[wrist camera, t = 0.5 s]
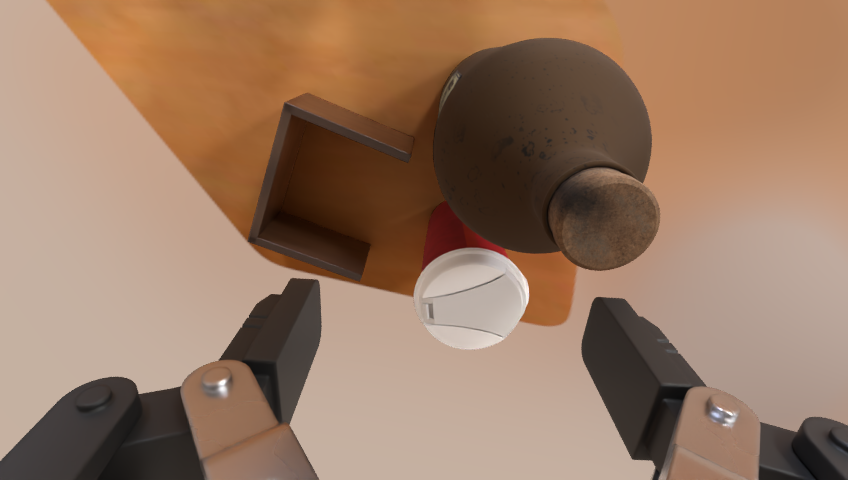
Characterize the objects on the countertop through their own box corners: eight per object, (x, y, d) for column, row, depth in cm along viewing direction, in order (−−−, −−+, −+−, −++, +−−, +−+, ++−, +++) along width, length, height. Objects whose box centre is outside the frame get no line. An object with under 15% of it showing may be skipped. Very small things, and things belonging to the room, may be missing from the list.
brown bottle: (566, 37, 33) (857, 33, 11) (550, 169, 38) (731, 362, 15) (431, 39, 33) (436, 39, 11) (431, 170, 38) (435, 362, 15)
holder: (306, 92, 35) (284, 101, 30) (414, 137, 37) (411, 154, 31) (271, 214, 40) (247, 241, 35) (368, 250, 41) (359, 281, 36)
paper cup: (421, 262, 42) (418, 359, 29) (414, 189, 39) (407, 261, 26) (500, 257, 42) (531, 352, 29) (500, 183, 38) (535, 253, 26)
